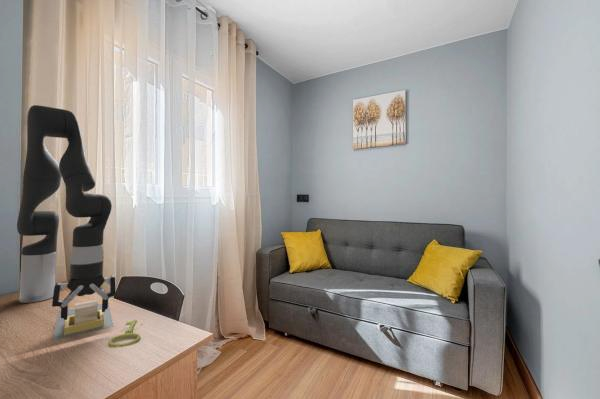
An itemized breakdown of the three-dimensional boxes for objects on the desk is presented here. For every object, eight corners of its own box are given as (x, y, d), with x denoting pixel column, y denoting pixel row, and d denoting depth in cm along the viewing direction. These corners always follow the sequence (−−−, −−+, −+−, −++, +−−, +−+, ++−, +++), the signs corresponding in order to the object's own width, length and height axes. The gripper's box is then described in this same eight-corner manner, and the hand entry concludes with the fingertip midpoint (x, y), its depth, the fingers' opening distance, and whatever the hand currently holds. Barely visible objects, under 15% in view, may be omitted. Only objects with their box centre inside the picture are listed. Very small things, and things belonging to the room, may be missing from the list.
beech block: (74, 323, 75) (75, 303, 75) (95, 319, 78) (96, 299, 78) (74, 330, 71) (75, 309, 71) (96, 325, 75) (97, 304, 75)
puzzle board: (58, 315, 82) (58, 305, 83) (108, 305, 91) (108, 297, 91) (51, 344, 66) (52, 333, 66) (113, 329, 74) (113, 319, 74)
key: (136, 325, 78) (136, 318, 78) (141, 343, 68) (141, 335, 69) (107, 331, 74) (107, 324, 74) (108, 352, 64) (108, 343, 64)
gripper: (115, 255, 82) (113, 305, 82) (55, 261, 73) (52, 317, 73) (118, 259, 77) (115, 313, 76) (52, 266, 67) (50, 327, 67)
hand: (85, 314), depth 75 cm, fingers open, 8 cm apart
